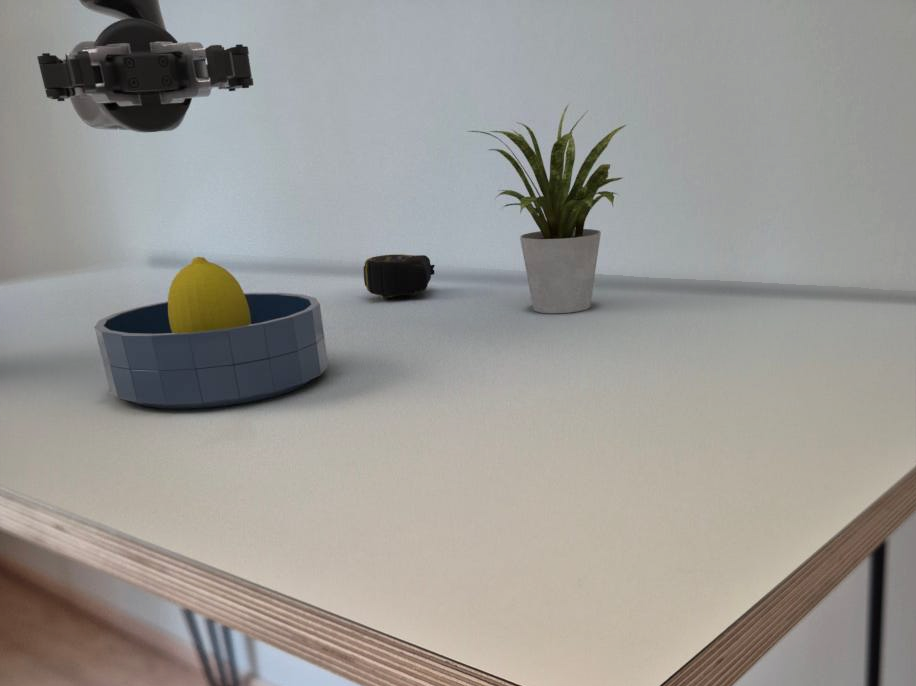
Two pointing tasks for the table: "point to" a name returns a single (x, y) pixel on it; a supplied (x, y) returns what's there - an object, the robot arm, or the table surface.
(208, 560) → the table surface
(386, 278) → the tape measure
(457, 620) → the table surface
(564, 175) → the house plant
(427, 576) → the table surface
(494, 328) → the table surface
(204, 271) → the lemon
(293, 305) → the bowl
